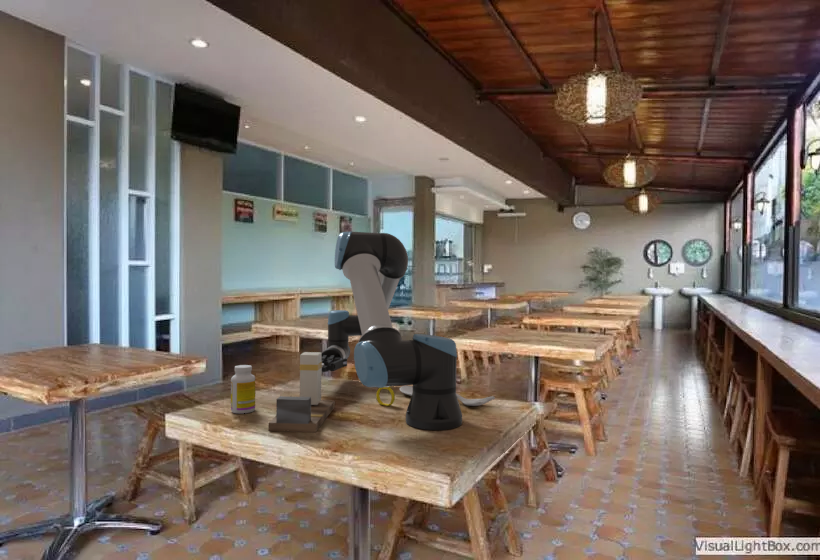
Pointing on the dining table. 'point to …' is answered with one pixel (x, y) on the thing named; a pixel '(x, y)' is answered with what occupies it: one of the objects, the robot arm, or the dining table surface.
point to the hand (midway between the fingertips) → (317, 371)
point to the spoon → (470, 402)
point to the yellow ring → (391, 396)
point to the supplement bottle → (243, 390)
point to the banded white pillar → (310, 376)
